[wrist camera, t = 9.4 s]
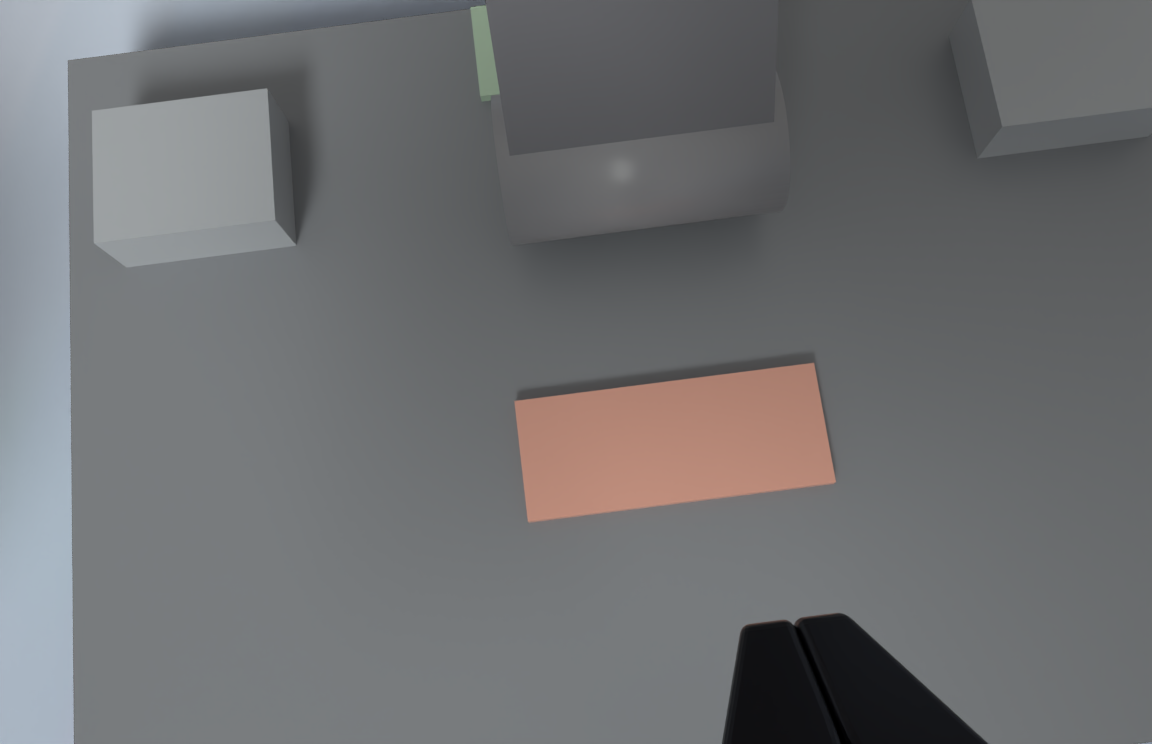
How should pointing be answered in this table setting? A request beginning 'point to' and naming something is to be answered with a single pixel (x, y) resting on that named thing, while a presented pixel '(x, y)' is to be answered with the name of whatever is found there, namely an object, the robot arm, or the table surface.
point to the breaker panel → (609, 392)
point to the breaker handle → (636, 114)
